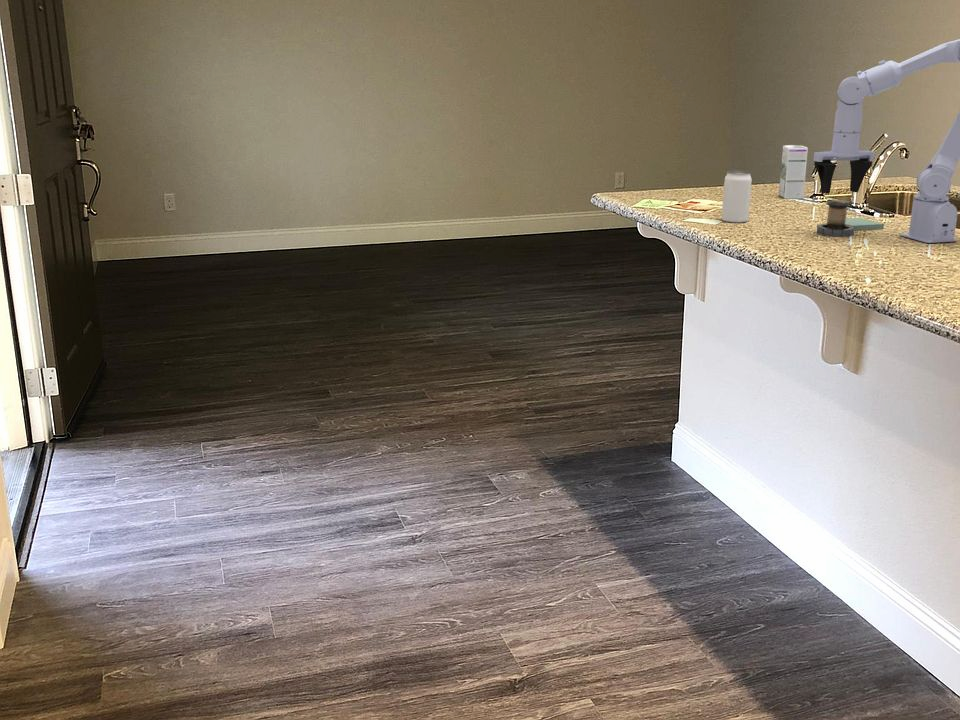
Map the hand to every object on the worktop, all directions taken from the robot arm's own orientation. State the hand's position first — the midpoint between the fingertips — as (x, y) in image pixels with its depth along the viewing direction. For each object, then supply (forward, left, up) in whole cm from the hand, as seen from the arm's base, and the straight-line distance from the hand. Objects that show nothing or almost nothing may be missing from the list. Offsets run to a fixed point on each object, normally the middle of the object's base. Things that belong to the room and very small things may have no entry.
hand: (839, 192), depth 224 cm
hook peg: (0, 0, -9) cm, 9 cm away
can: (+21, +14, -10) cm, 27 cm away
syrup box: (+50, -21, -10) cm, 55 cm away
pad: (+6, -10, -9) cm, 15 cm away
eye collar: (0, 0, -9) cm, 9 cm away
